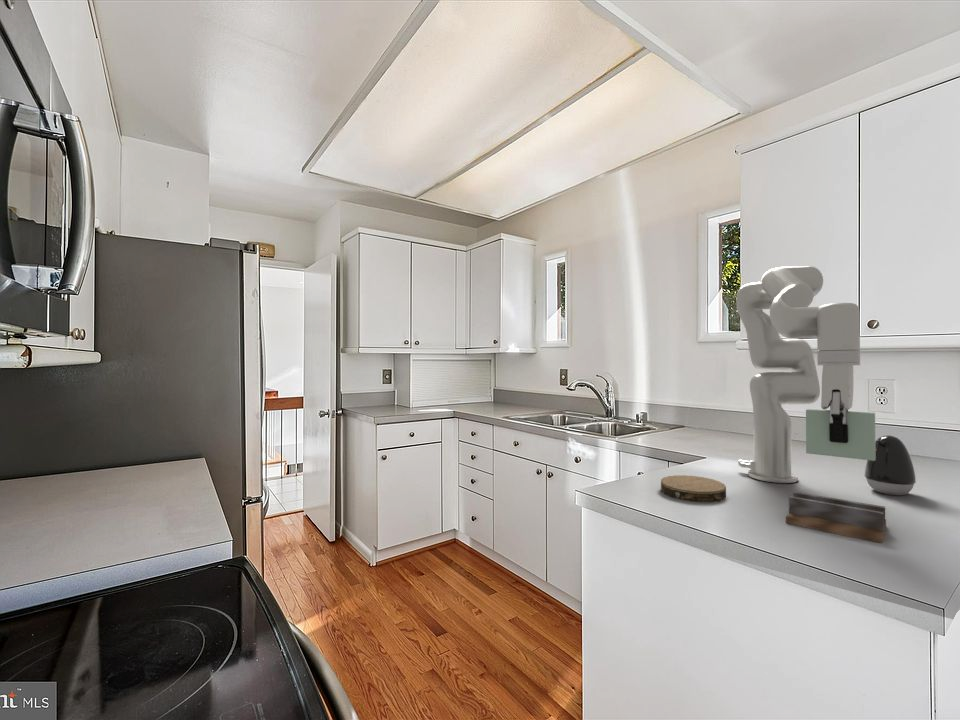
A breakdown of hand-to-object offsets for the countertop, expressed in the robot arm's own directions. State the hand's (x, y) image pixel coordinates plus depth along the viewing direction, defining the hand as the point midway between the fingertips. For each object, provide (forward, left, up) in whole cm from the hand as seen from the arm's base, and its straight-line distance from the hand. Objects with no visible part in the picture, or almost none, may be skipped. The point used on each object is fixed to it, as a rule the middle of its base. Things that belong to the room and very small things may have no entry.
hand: (839, 440), depth 102 cm
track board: (0, -4, -18) cm, 18 cm away
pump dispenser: (+7, +34, -18) cm, 39 cm away
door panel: (0, 0, -3) cm, 3 cm away
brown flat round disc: (-31, -1, -18) cm, 36 cm away
